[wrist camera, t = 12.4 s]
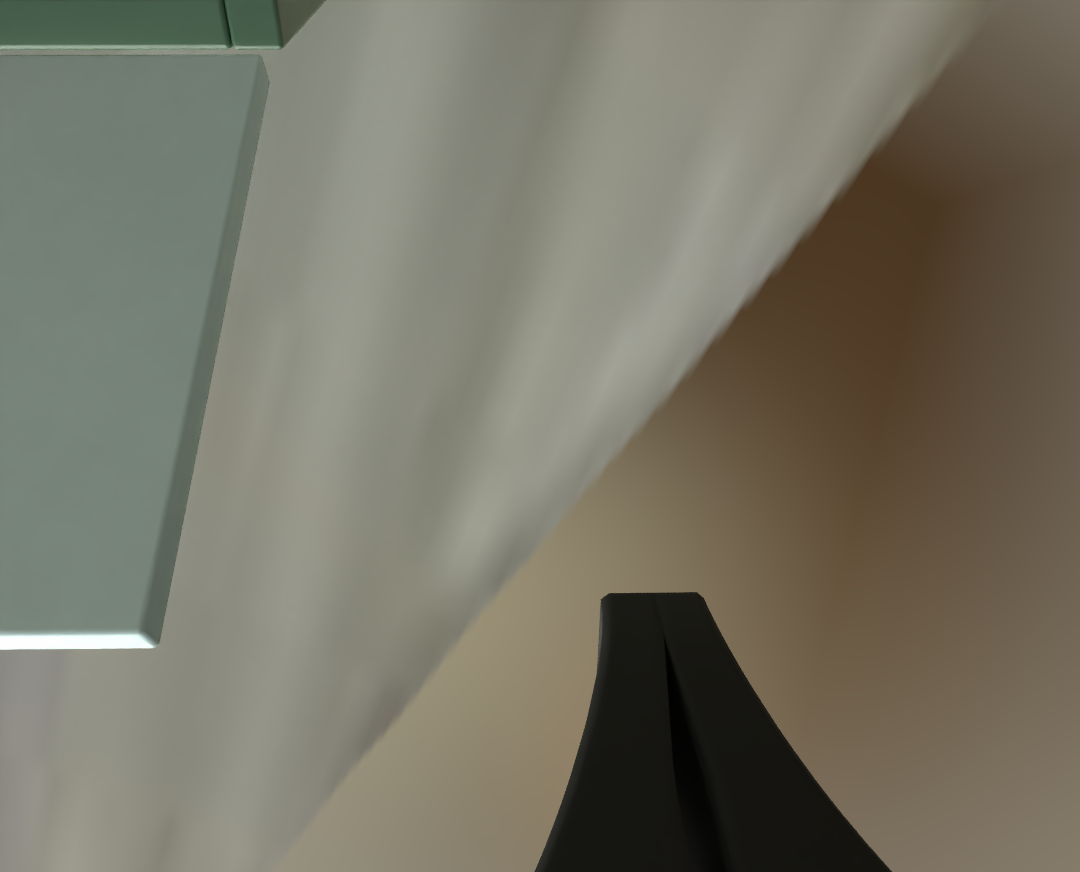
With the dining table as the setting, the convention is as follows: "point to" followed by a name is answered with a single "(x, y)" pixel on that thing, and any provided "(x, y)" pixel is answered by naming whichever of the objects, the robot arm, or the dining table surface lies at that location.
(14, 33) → the box
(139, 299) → the pale green slab
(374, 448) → the dining table surface
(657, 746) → the robot arm
